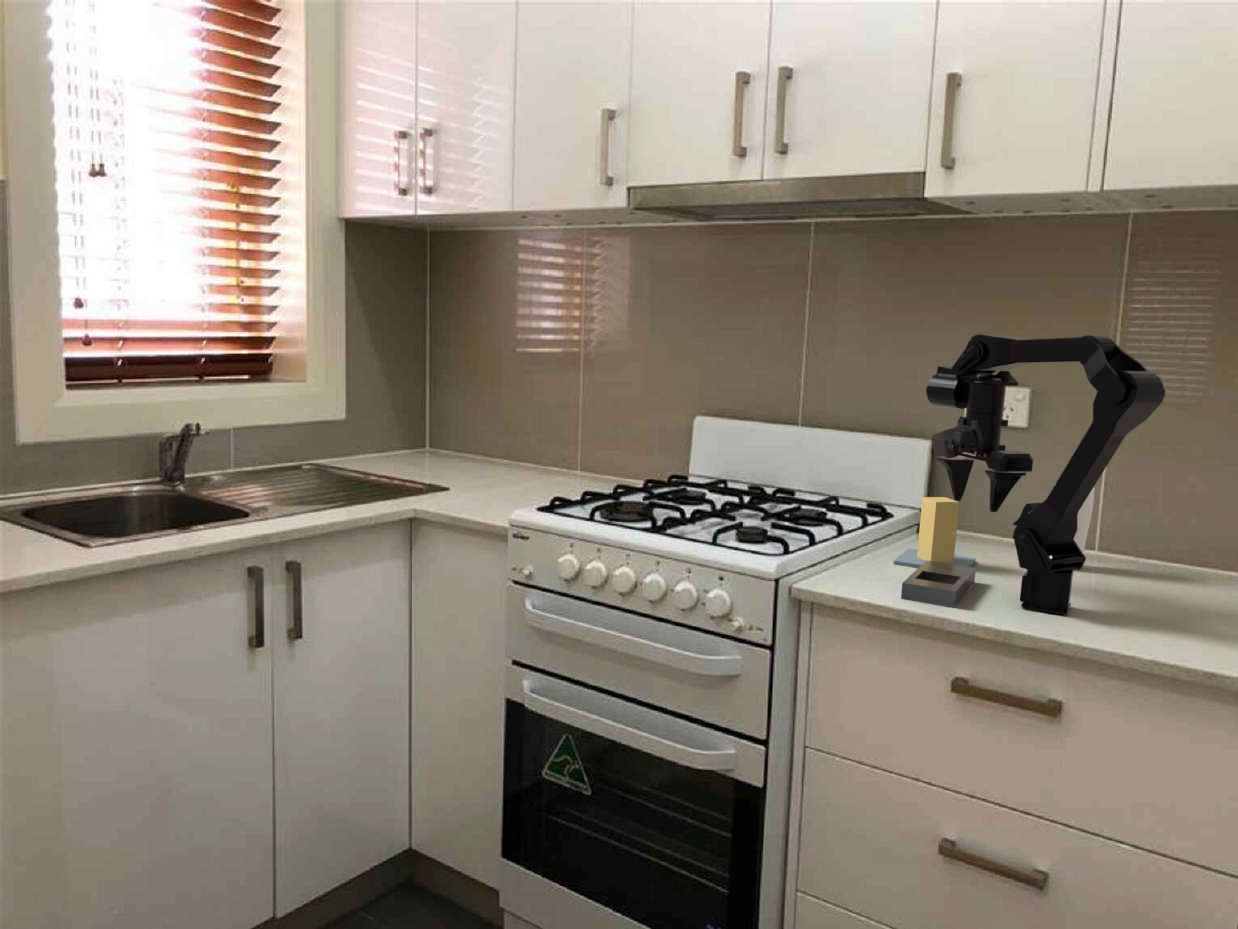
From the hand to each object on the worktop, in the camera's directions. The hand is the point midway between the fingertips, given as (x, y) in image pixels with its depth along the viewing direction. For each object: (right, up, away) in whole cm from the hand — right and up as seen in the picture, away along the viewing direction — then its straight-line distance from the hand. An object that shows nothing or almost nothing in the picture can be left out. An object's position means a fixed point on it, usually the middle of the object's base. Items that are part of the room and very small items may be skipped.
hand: (974, 506), depth 164 cm
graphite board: (-7, -13, -4) cm, 16 cm away
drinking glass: (+22, -12, +17) cm, 30 cm away
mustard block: (-2, -10, +15) cm, 18 cm away
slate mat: (-2, -11, +15) cm, 19 cm away
